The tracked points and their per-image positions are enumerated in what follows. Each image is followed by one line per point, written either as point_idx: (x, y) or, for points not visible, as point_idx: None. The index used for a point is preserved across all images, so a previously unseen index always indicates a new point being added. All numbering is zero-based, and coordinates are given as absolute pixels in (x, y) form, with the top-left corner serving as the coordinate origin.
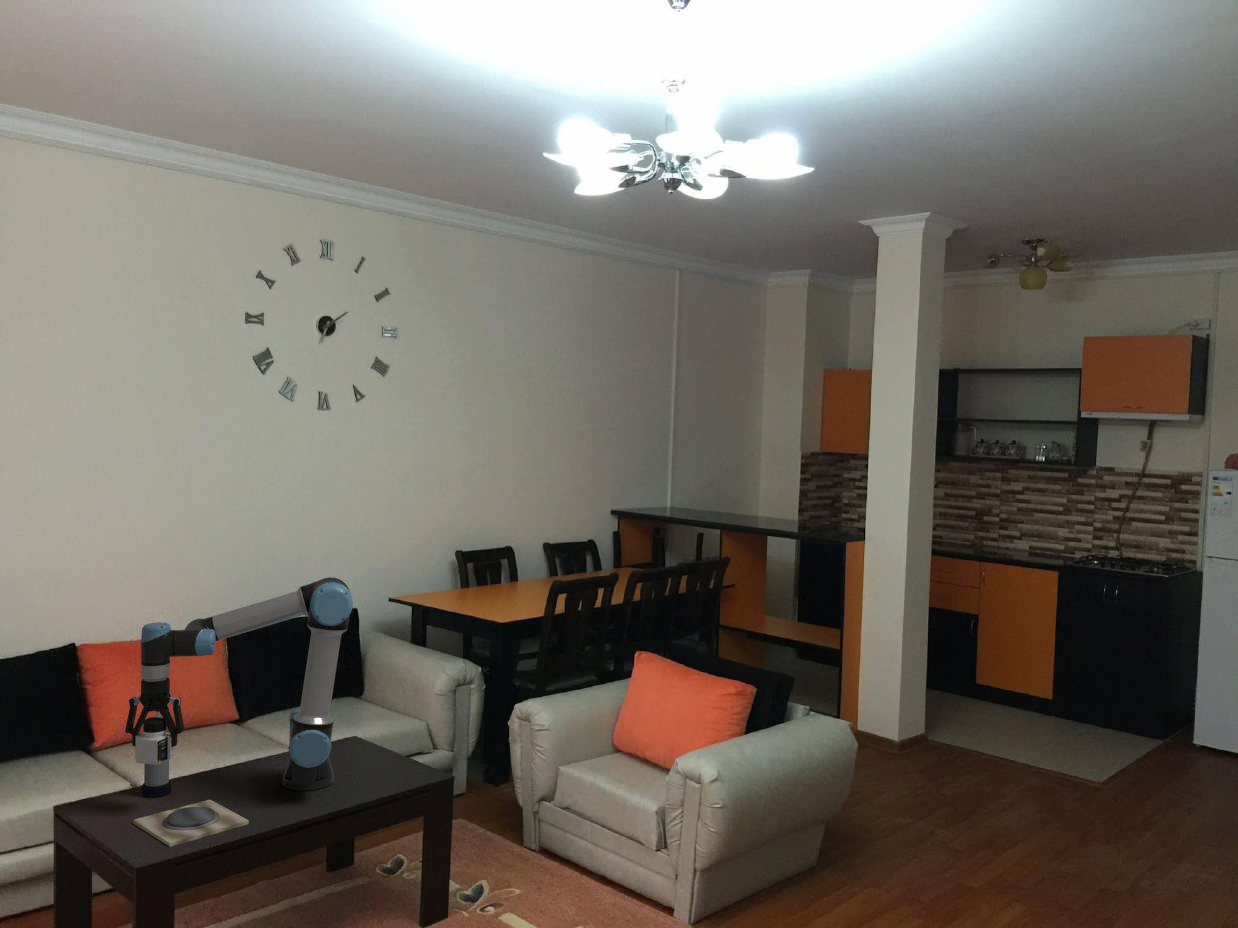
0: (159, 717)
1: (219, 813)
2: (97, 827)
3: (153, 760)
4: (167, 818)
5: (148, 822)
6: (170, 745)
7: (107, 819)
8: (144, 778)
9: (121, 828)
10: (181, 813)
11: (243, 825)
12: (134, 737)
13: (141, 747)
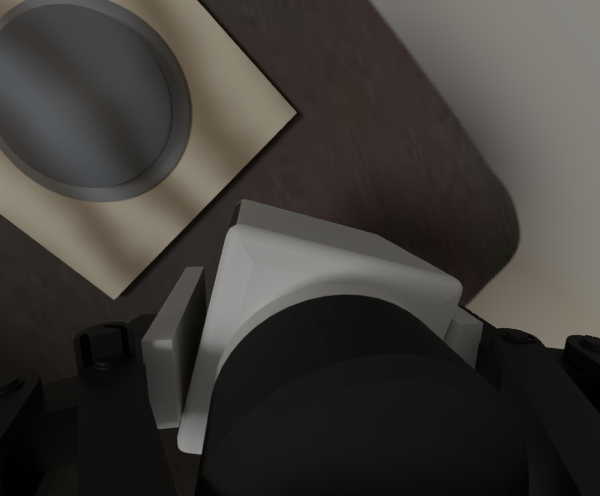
0: None
1: (12, 171)
2: (391, 79)
3: (269, 207)
4: (180, 112)
5: (235, 85)
6: (166, 302)
7: (383, 148)
8: None
9: (315, 67)
10: (125, 115)
11: None
12: (482, 331)
13: (379, 246)
